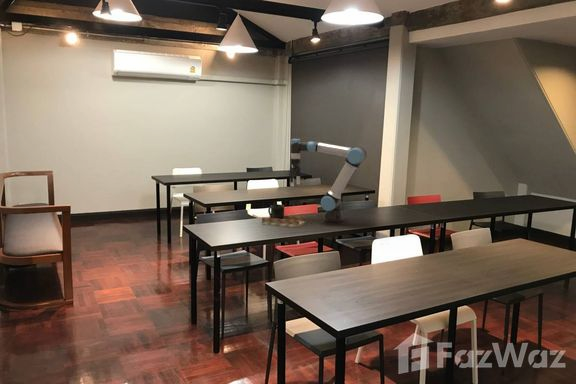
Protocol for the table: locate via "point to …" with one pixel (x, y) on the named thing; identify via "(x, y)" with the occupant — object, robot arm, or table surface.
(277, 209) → the mug
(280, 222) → the brown lumpy flat block
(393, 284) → the table surface
